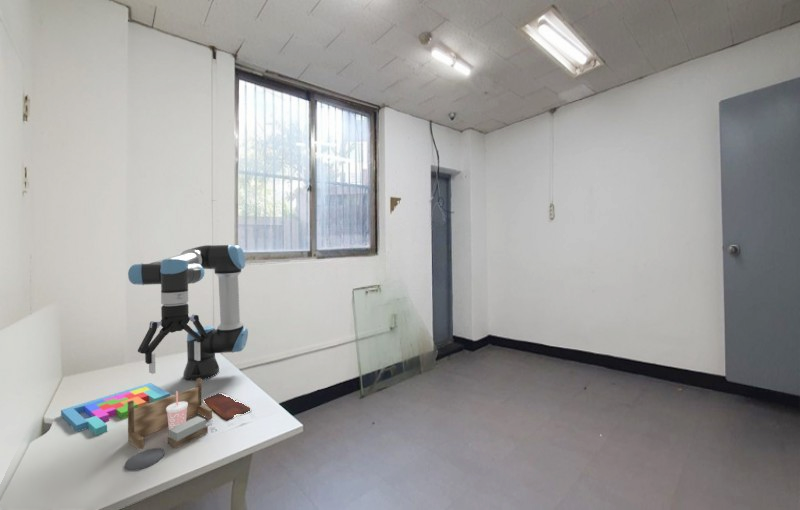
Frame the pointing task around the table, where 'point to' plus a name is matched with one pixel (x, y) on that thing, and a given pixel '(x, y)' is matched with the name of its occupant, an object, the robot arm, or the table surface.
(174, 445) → the offcut lower
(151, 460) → the coaster
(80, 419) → the tetris game
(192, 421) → the offcut upper
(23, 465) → the table surface
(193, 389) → the rack
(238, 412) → the wooden tablet
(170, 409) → the beverage cup
